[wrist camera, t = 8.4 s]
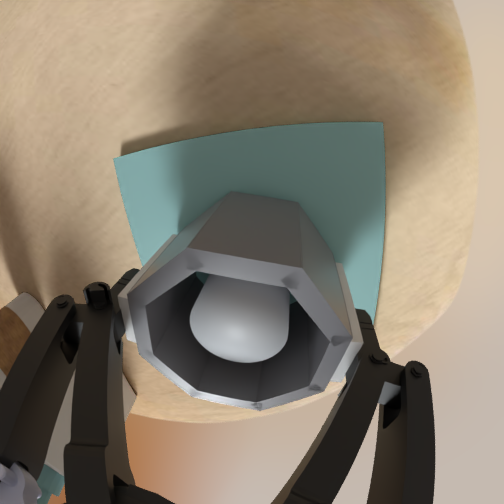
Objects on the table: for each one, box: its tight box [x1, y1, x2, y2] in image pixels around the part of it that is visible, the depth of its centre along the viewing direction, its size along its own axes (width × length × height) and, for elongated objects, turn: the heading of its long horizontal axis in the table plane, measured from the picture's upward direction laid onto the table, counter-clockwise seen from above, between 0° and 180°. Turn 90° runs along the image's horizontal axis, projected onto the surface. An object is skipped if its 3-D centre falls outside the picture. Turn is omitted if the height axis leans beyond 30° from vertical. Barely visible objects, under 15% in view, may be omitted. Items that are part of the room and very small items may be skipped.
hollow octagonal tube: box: [127, 191, 353, 411], centre depth 14 cm, size 9×9×7 cm
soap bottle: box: [37, 371, 137, 504], centre depth 19 cm, size 10×9×22 cm
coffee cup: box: [0, 292, 45, 390], centre depth 19 cm, size 8×8×15 cm
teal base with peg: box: [113, 122, 386, 363], centre depth 15 cm, size 16×16×7 cm
